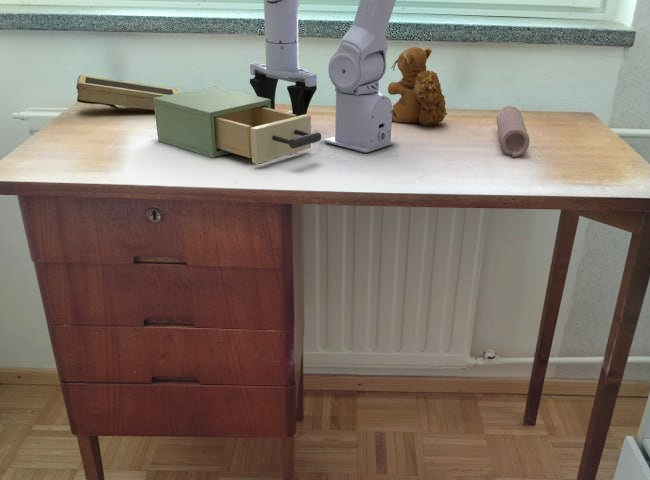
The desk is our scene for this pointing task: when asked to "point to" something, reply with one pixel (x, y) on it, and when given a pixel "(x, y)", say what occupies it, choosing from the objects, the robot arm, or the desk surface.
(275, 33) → the robot arm
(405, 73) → the stuffed squirrel
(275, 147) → the drawer
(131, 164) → the desk surface
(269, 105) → the box
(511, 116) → the grey hollow tube piece
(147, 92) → the box
